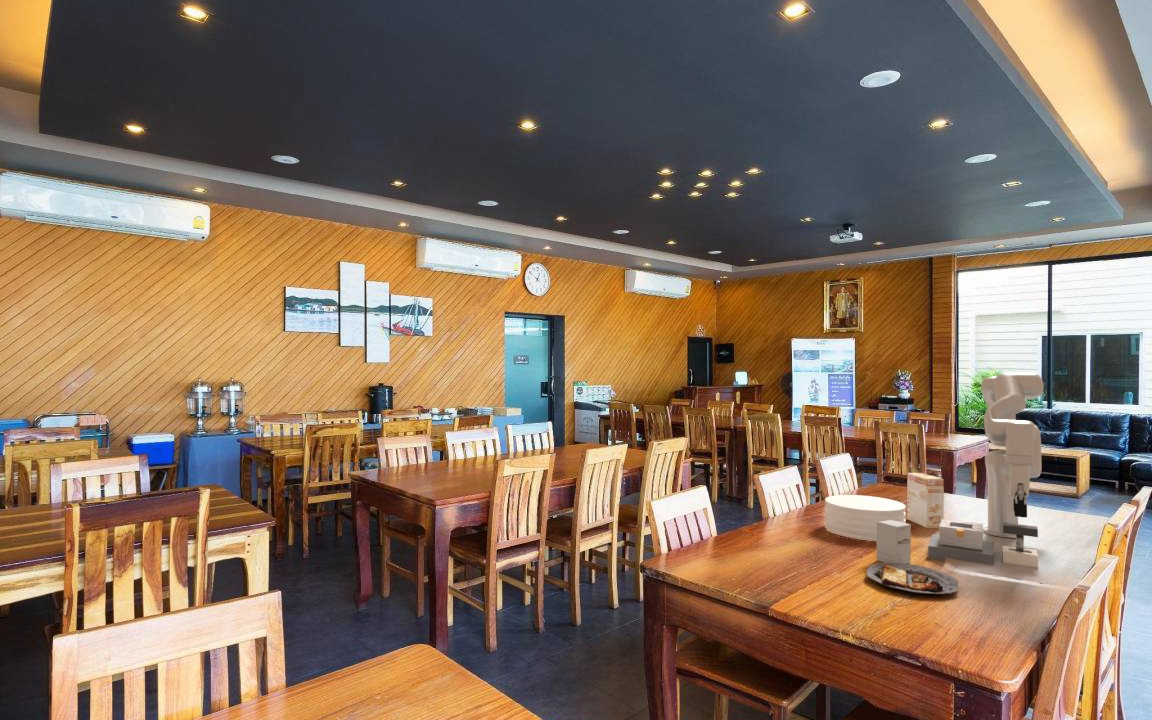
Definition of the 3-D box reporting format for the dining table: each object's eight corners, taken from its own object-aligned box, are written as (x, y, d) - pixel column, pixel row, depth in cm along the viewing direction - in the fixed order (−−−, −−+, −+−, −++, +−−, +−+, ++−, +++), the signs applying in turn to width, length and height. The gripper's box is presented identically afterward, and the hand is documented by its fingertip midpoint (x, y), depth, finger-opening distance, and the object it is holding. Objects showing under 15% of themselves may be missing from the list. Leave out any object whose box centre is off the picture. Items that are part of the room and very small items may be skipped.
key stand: (1002, 559, 206) (1002, 545, 206) (1036, 564, 201) (1036, 550, 201) (1003, 565, 199) (1003, 551, 199) (1038, 570, 194) (1038, 556, 194)
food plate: (957, 606, 165) (957, 593, 165) (861, 589, 177) (861, 577, 177) (958, 579, 186) (958, 568, 186) (872, 566, 198) (872, 555, 198)
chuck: (941, 536, 217) (941, 519, 217) (982, 541, 210) (982, 524, 210) (938, 546, 204) (938, 528, 205) (982, 552, 198) (982, 533, 198)
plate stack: (908, 529, 243) (908, 500, 243) (901, 546, 220) (901, 514, 220) (832, 519, 258) (832, 492, 258) (818, 534, 235) (818, 504, 235)
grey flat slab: (932, 545, 221) (932, 534, 221) (993, 554, 211) (993, 542, 211) (928, 558, 206) (928, 545, 206) (993, 568, 196) (993, 555, 196)
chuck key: (1002, 557, 204) (1002, 522, 204) (1036, 562, 199) (1036, 526, 199) (1003, 560, 200) (1003, 525, 200) (1037, 566, 195) (1037, 529, 195)
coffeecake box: (944, 528, 245) (944, 478, 245) (926, 528, 245) (926, 478, 245) (923, 519, 260) (923, 472, 260) (906, 519, 260) (906, 472, 260)
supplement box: (896, 566, 197) (896, 526, 197) (875, 560, 203) (875, 521, 204) (911, 563, 200) (911, 524, 200) (890, 557, 207) (890, 519, 207)
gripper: (1005, 457, 209) (1005, 508, 209) (1006, 462, 195) (1006, 517, 194) (1032, 458, 205) (1033, 511, 205) (1036, 464, 191) (1036, 520, 190)
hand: (1020, 514), depth 199 cm, fingers open, 9 cm apart
